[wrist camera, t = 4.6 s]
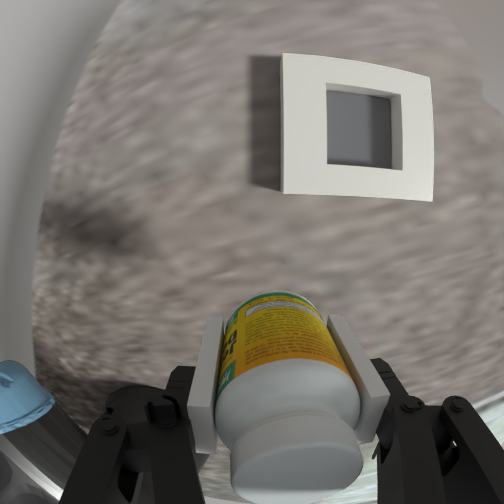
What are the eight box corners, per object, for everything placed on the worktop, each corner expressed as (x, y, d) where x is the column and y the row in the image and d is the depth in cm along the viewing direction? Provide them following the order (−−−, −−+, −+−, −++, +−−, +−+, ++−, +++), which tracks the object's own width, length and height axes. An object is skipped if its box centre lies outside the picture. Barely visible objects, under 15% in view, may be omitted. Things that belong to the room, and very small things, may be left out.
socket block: (280, 191, 26) (283, 193, 23) (279, 63, 23) (282, 53, 20) (419, 198, 26) (432, 201, 24) (417, 83, 23) (429, 77, 20)
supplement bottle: (319, 366, 17) (364, 502, 7) (228, 372, 17) (218, 517, 7) (324, 282, 15) (407, 412, 6) (220, 288, 15) (192, 434, 6)
